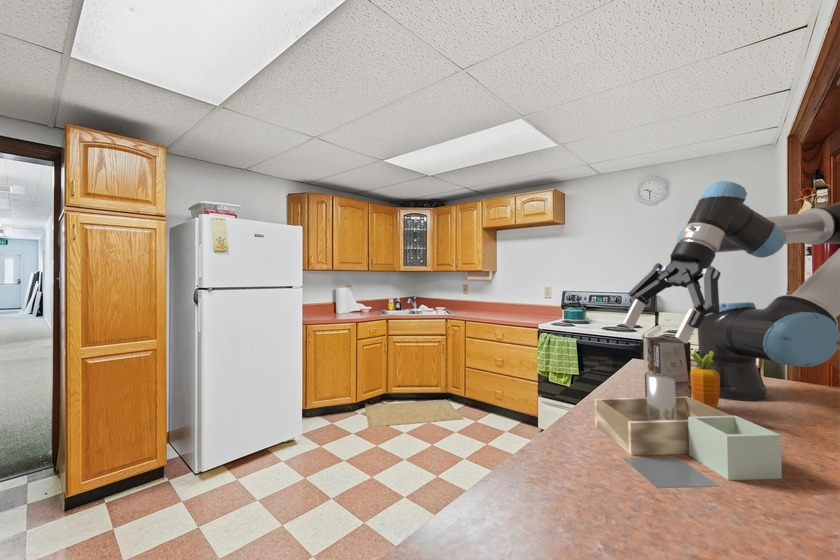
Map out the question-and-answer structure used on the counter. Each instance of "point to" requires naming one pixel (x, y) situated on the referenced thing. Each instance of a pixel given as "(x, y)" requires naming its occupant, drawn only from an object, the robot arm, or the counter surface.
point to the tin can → (661, 397)
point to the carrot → (705, 381)
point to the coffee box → (669, 361)
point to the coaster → (669, 472)
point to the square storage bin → (735, 447)
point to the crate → (648, 425)
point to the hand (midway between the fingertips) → (652, 332)
